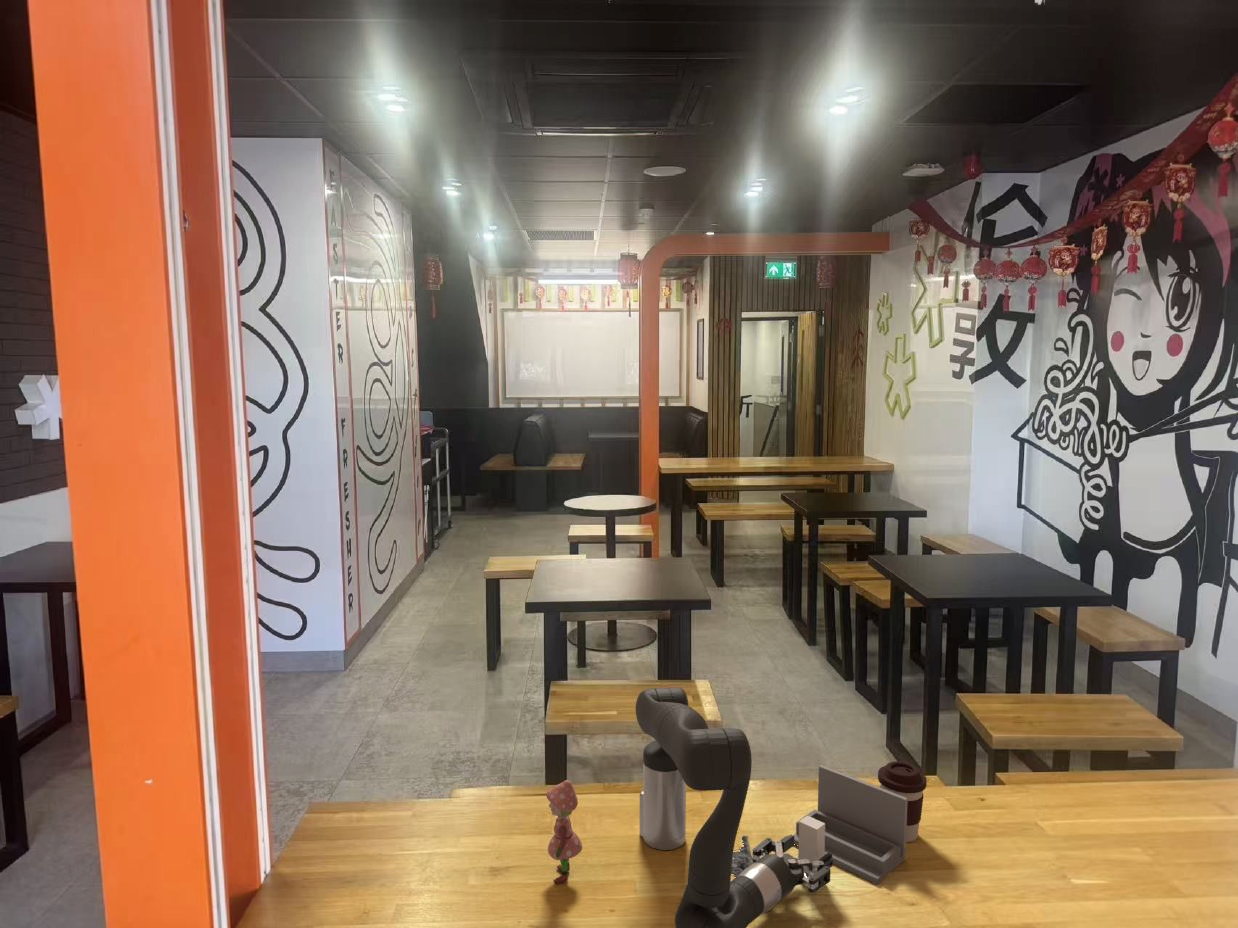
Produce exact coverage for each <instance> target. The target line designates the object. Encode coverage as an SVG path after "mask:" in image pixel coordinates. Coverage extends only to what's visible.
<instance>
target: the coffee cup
mask: <svg viewBox="0 0 1238 928" xmlns="http://www.w3.org/2000/svg"><path fill="white" fill-rule="evenodd" d="M877 780H878V782H879V783H880V788H882V789H885V790H888V791H890V792H893V793H895V794H898V795H901V796H903V797H906V798H908V801H907V827H906V843H912V842H914V841H916V840H917V838H918V835H919V829H920V822H921V821H922V820H921V819H922V812H923V804H924V790H926V788H927V782H928V781H927V777H926V776H925V774H924V773H922V772H921V771H920V769H919V768H918V767H916V766H915V765H914V764H912V763H909V762H905V761H891V762H888V763H887V764H885V765H884V766H882V767H880V768H879V769H878V771H877Z"/></svg>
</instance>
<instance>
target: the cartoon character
mask: <svg viewBox="0 0 1238 928" xmlns="http://www.w3.org/2000/svg"><path fill="white" fill-rule="evenodd" d="M546 799H547V801H549V804H548V807H549V808H550V810H551V814H552V815H553V816H557V817H556V818H555V823H554V826H553V832H554V834H553V836H552V838H550V841H549V843H548V847H547V853H548V854H549V857H551V858H552V859H553V860H555V861H559V862H560V864H559V865H556V868H557V870H559V871H561V874H560V875H559V876H558V877H556V878H555V879H552V880H553V883H554V884H560V883H562V884H565V883H567V881H568V879H569V878H568V873H569V872H570V868H571V867H570V859H572V858H574V857H576V856H577V855H579V854H580V853H581V852H582V851H583V844H582V840H581V839H580V837H579V836H578V834H577V833H575V831H573V828H572V822H571V819H570V818H571V817H570V815H572V813H573V811H575V810H577V809H576V808H577V806H578V804H579V802H578V796H577V793H576V790H575V788H574V786H573V783H572V782H571V781H570V780H568V779H565V780H563V781H562V782H560V783H558V784H556V786H554V787H553V788H551V789H548V791H547V792H546Z"/></svg>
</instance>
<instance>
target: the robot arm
mask: <svg viewBox="0 0 1238 928" xmlns="http://www.w3.org/2000/svg"><path fill="white" fill-rule="evenodd" d="M635 715H636V716H635V717H636V720H637V723H638V726H639V727H640V729H641V731H642V732H643V733H644V734H646V735H647V736H650V737H652V738H653V739H654V740H653V741H650V742H649V743H648V744H646V746H645V747H644V748H643V751H642V752H643V753H642V791H641V792H639V836H641V837H642V839H643V841H644V843H645V844H646V845H647V846H649V847H650V848H652V849H656V850H660V851H661V850H662V851H672V850H675V849H677V848H680V847H682V846H683V845H684V843H685V842H686V832H687V831H686V830H687V829H686V828H687V825H686V824H687V823H686V821H687V820H686V819H687V814H686V813H687V786H688V787H689V789H692V790H694V791H699V792H702V791H703V792H707V791H710V792H711V791H722V793H721V796H720V799H719V800H718V803H717V805H716V807H715V808H714V809H713V811H712V813H711V814H710V815H709V817H708V818H707V820H706V821H705V822H704V824H703V825H702V826H701V828H700V830H699V831H698V832H697V834H696V835H695V836H694V837H695V838H694V839H693V842H692V844H691V847H690V850H689V856H688V857H689V858H688V868H687V869H688V871H687V883H686V886H685V889H684V892H683V894H682V898H681V900H680V902H679V905H678V907H677V909H676V911H675V915H674V926H675V928H747V927H748V926H749V925H750V924H751V923H752V922H754V921H755V920H756V919H757V918H759V917H760V916H761V915H763V914H766V913H767V912H768V911H770V910H772V909H773V908H774V907H775V906H777V905H778V904H779V903H780V902H782V901H783V900H784V899H785V898H787V896H789V895H790V894H791V893H792V892H793V890H794V889H795V887H797V886H800V885H804V886H805V887H808V889H807V890H808V892H809V893H810V894H814V893H816V892H818V891H819V890H820V889H822V888H823V887H825V886H826V885H827V884H829V883H831V871H832V870H831V868H832V867H833V865H834V864H833V857H832V854H830V853H827V854H826V855H824V856H823V857H822V858H821V859H819V861H810V859H803V860H800V859H798V857H794V856H793V855H791V854H790V853H786V852H787V851H788V850H790V849H792V848H793V847H794V846H795V845H794V836H793V835H794V834H789V835H786V836H784V837H783V838H781V839H780V840H779V839H777V840H775V841H773V838H771V837H766V838H765V839H764V840H762V841H761V842H760V843H758V844H757V845H756V846H754V847H753V848H752V855H751V856H752V858H753V864H752V865H750V866H749V867H748V868H746V869H745V870H744V871H742V872H741V873H740V874H739V876H738V877H736V878H733V879H732V880H731V877H732V875H731V868H732V857H733V851H735V850H734V849H735V843H736V838H737V835H738V834H737V833H738V832H737V831H739V830H738V829H739V828H740V827H739V826H740V824H741V819H742V816H743V812H744V808H745V803H746V799H747V795H748V791H749V786H750V781H751V776H752V765H753V764H752V761H753V760H752V750H751V745H750V742H749V740H748V737H747V735H746V733H744V731H743V730H741V729H739V728H734V727H733V728H732V727H731V728H730V727H729V728H725V727H724V728H723V727H722V728H709V726H708V723H707V722H706V720H705V718H704V717H703V716H702V715H701V714H700V713H699V712H698V711H696V710H695V709H694V708H692V707H691V706H689V699H688V695H687V693H686V691H685V690H684V689H683V688H682V687H678V686H677V687H674V686H673V687H657V688H653V687H652V688H647V689H645V690H642V691H641V692H640V693H639V695H638V696H637V699H636V702H635ZM772 852H773V853H774V854H773V853H772ZM771 853H772V854H771ZM803 866H806V873H805V874H804V868H803ZM814 867H817V871H812V869H813V868H814Z"/></svg>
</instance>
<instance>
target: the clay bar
mask: <svg viewBox="0 0 1238 928" xmlns="http://www.w3.org/2000/svg"><path fill="white" fill-rule="evenodd" d="M805 816H806V815H805ZM802 818H803V817H802ZM802 818H801V819H802ZM799 820H800V819H799ZM799 820H798V821H799ZM797 849H798V851H797V852H798V855H797V858H798V859H800V860H803V859H810V861H819V859H821V858H822V857H823V856H824V850H825V823H823V822H821V821H818V820H816V819H814V818H812V817H809V816H806V817H805V818H803V819H802V820H800V821H799V847H798V848H797ZM803 868H804V874H805V873H806V866H803ZM812 871H817V867H814V868H813V869H812Z"/></svg>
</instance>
